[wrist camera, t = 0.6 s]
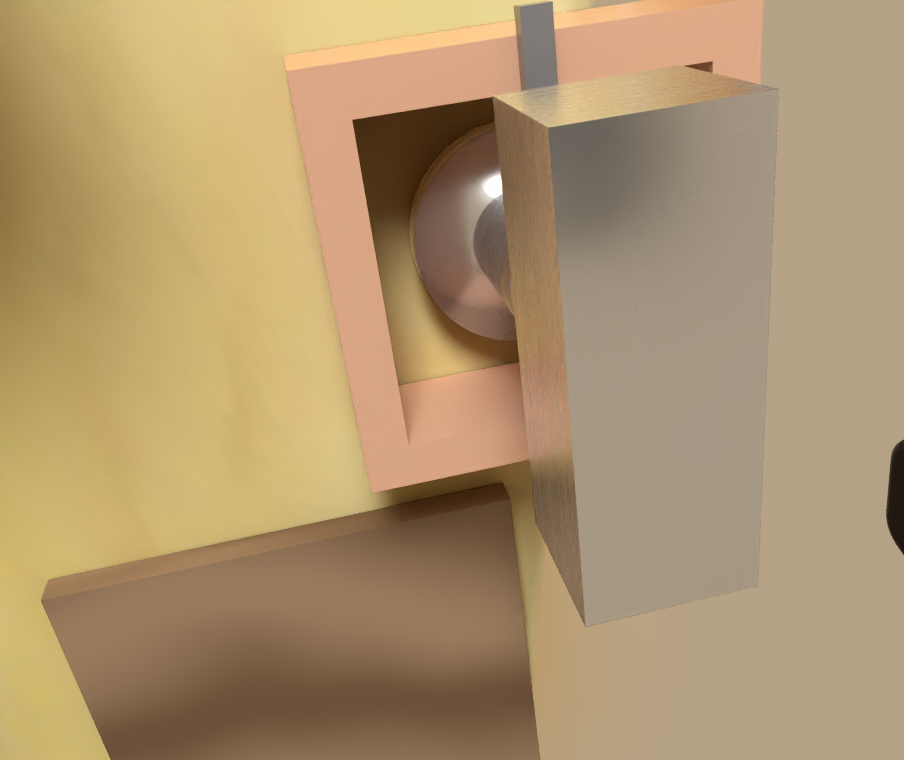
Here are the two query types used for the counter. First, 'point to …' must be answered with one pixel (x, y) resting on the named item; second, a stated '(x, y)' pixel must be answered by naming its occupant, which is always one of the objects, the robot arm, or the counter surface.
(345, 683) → the walnut board
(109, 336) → the counter surface
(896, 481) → the robot arm
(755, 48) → the socket collar
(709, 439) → the t key
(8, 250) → the counter surface
